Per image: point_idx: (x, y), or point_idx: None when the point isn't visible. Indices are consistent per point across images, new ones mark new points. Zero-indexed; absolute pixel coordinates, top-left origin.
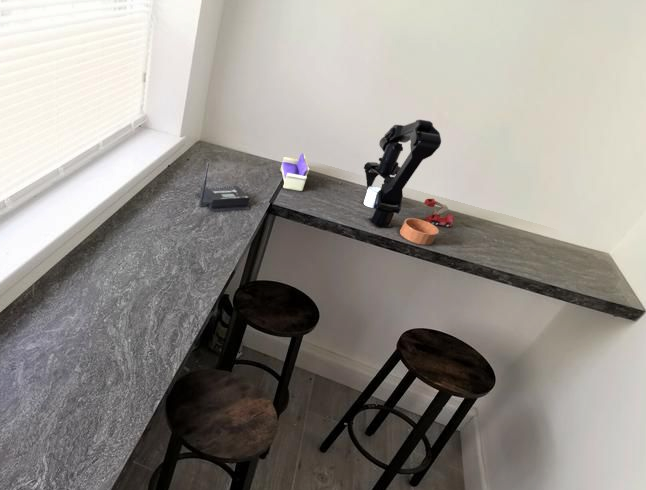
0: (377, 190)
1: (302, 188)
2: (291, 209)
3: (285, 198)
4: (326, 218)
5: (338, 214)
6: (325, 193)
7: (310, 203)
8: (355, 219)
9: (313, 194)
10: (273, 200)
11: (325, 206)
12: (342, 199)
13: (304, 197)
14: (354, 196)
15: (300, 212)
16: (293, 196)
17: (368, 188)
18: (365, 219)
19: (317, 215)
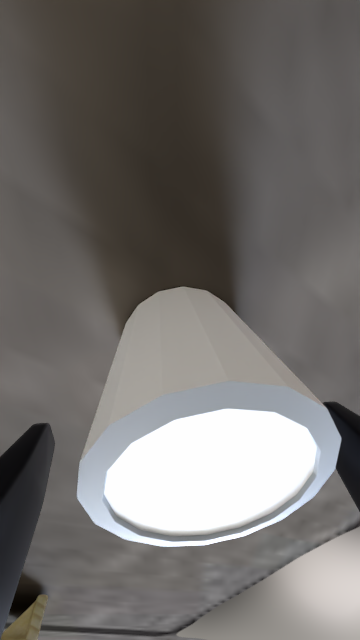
0: (240, 483)
1: (43, 614)
2: (207, 609)
3: (127, 617)
4: (284, 558)
5: (267, 527)
6: (35, 528)
7: (164, 578)
8: (327, 487)
9: (67, 564)
10: (145, 632)
11: (192, 548)
12: None
13: (109, 586)
14: (29, 395)
15: (229, 598)
16: (105, 605)
17: (167, 544)
18: None
19: (258, 572)
